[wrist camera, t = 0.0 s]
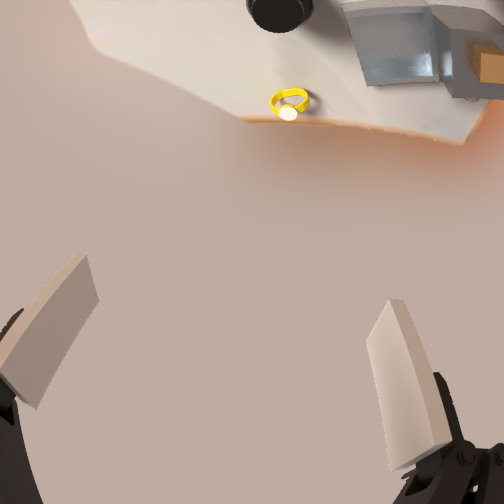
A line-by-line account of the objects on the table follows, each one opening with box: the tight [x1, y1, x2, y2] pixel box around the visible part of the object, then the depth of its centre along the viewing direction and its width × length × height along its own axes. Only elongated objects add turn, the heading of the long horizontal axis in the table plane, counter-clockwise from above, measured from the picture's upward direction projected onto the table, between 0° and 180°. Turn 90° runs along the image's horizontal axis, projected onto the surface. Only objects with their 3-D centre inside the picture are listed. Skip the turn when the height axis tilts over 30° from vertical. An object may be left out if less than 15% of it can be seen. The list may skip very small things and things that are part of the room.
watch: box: [270, 88, 310, 120], centre depth 38 cm, size 6×3×6 cm, turn 111°
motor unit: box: [340, 0, 504, 102], centre depth 21 cm, size 14×21×11 cm, turn 116°
